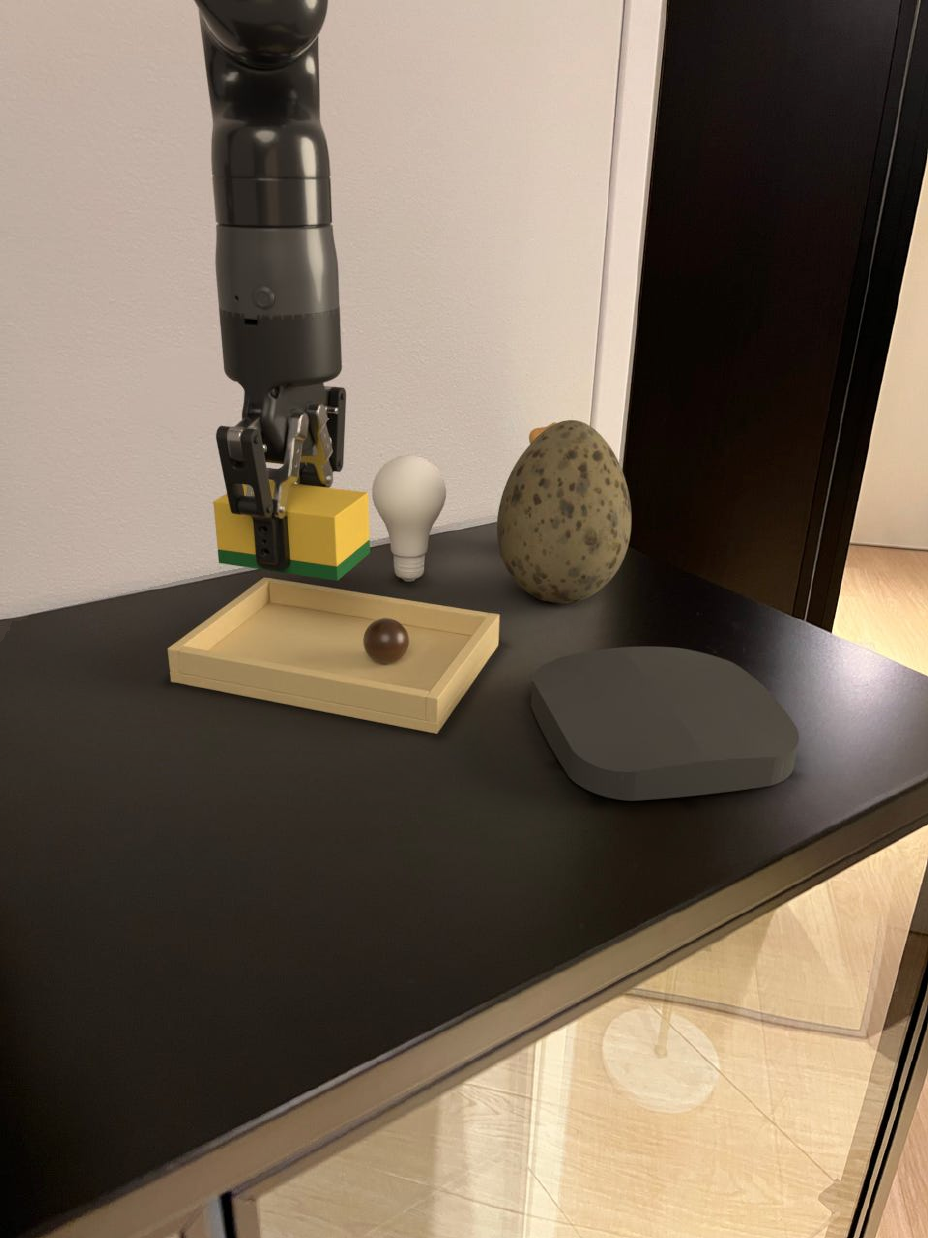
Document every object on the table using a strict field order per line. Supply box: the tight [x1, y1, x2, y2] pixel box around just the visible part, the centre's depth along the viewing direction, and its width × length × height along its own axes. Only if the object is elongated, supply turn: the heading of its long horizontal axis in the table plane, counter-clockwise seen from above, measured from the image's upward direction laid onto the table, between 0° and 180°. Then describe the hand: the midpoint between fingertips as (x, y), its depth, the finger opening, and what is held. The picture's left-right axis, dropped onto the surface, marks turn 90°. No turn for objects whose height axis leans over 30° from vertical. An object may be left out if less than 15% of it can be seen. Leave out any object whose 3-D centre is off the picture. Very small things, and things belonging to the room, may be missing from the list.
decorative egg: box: [496, 419, 632, 605], centre depth 82 cm, size 11×11×15 cm
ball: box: [363, 618, 409, 664], centre depth 71 cm, size 3×3×3 cm
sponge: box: [212, 480, 371, 582], centre depth 70 cm, size 9×6×4 cm, turn 71°
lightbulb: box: [371, 454, 447, 583], centre depth 85 cm, size 6×6×11 cm
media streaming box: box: [530, 645, 800, 802], centre depth 65 cm, size 15×15×3 cm
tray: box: [167, 577, 500, 735], centre depth 73 cm, size 20×14×3 cm
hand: (294, 551), depth 71 cm, fingers closed on sponge, 5 cm apart
